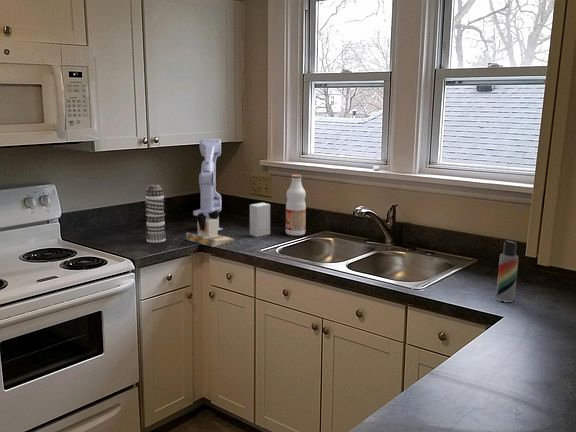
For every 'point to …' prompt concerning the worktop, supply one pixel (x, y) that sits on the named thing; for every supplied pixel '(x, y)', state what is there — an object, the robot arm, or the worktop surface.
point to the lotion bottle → (507, 272)
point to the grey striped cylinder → (155, 213)
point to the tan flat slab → (209, 239)
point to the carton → (209, 227)
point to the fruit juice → (295, 207)
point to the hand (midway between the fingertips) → (207, 229)
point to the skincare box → (259, 219)
